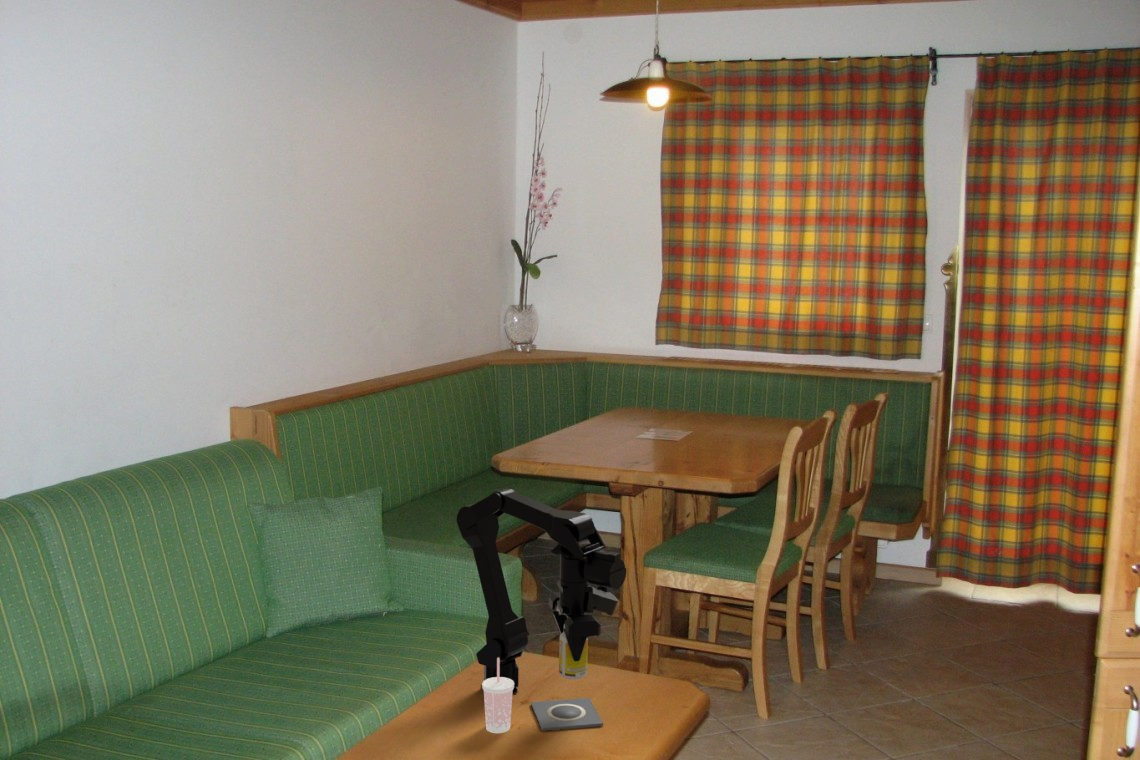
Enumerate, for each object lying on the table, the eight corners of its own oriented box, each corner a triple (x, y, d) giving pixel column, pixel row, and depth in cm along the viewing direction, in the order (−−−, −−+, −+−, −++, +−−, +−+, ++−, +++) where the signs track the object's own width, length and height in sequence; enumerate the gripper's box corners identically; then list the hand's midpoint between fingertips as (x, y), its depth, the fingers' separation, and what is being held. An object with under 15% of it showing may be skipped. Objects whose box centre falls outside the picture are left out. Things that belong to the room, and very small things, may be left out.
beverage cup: (518, 723, 213) (519, 654, 211) (506, 737, 207) (507, 666, 205) (489, 718, 215) (489, 650, 213) (476, 732, 209) (477, 661, 207)
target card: (541, 731, 210) (542, 727, 209) (531, 704, 221) (531, 701, 221) (603, 726, 212) (603, 722, 212) (589, 700, 224) (589, 697, 224)
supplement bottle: (592, 675, 217) (593, 625, 215) (571, 682, 213) (572, 632, 212) (574, 666, 221) (575, 617, 219) (553, 673, 217) (553, 624, 216)
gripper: (627, 591, 207) (625, 670, 209) (602, 562, 225) (600, 635, 227) (570, 595, 204) (568, 675, 207) (548, 565, 222) (547, 639, 225)
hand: (573, 655), depth 216 cm, fingers closed on supplement bottle, 5 cm apart
